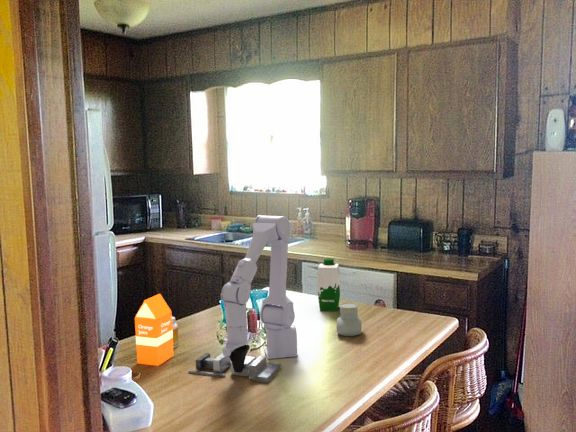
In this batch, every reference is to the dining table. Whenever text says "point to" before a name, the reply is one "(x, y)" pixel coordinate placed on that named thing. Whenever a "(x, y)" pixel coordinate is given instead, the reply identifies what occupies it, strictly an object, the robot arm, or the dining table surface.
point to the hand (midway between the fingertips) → (238, 371)
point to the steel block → (246, 366)
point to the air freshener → (349, 321)
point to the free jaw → (213, 362)
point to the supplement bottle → (175, 333)
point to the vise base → (254, 370)
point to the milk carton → (328, 285)
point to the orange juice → (154, 332)
